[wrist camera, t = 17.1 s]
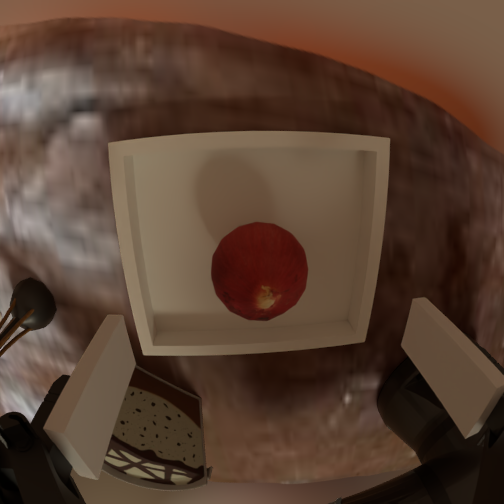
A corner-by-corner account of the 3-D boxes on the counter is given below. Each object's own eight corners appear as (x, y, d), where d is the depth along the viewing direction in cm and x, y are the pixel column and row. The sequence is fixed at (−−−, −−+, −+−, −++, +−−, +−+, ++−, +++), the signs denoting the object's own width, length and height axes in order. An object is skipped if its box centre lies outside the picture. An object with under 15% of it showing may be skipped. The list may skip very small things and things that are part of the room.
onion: (287, 290, 23) (312, 356, 16) (211, 283, 23) (203, 350, 15) (300, 215, 21) (337, 255, 14) (217, 206, 21) (210, 243, 13)
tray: (370, 136, 20) (390, 138, 18) (352, 322, 26) (364, 341, 23) (123, 141, 19) (108, 142, 17) (150, 333, 25) (143, 355, 22)
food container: (87, 379, 27) (57, 451, 18) (106, 346, 25) (70, 427, 16) (184, 429, 30) (178, 502, 21) (213, 403, 29) (212, 485, 20)
